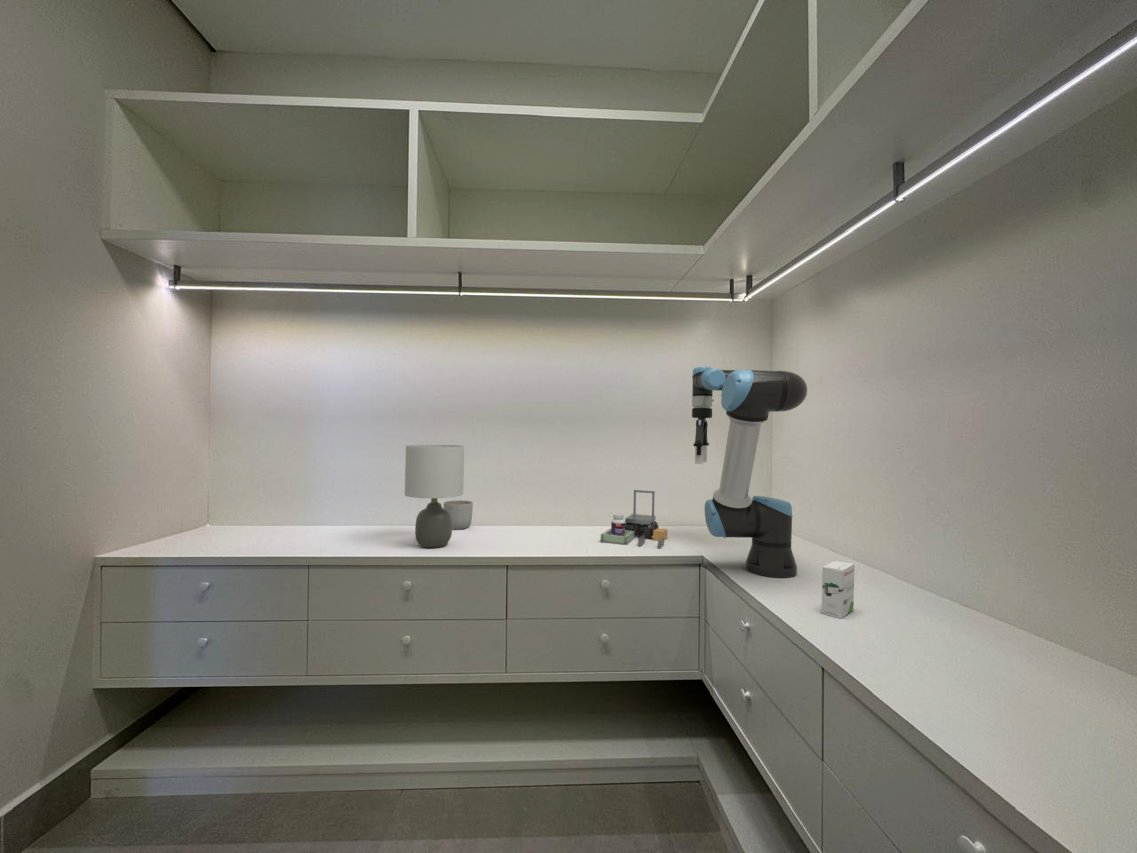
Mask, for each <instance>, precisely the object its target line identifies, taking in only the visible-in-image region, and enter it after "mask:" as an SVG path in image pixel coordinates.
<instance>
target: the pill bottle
mask: <svg viewBox="0 0 1137 853" xmlns="http://www.w3.org/2000/svg"><path fill="white" fill-rule="evenodd" d="M612 518H613V519H612V520H611V523H610V524H611V526H610V529H611V535H618V536H625V523H626V522H625V519H624V514H623V513H613V515H612Z"/></svg>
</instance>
